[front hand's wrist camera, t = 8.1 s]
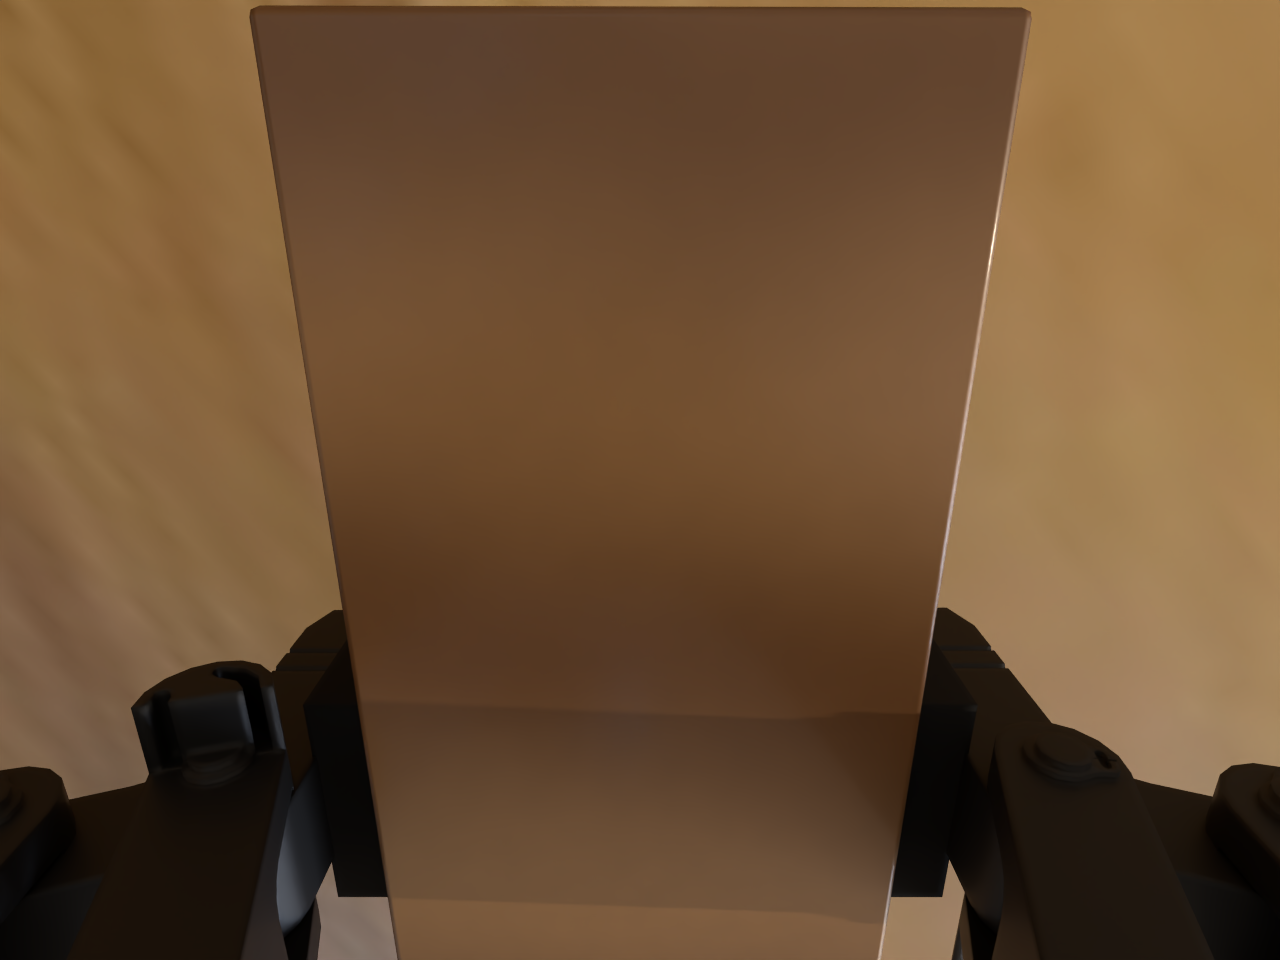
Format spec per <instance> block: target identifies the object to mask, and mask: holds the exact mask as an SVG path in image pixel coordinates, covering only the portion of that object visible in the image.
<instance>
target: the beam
mask: <svg viewBox="0 0 1280 960" xmlns="http://www.w3.org/2000/svg"><path fill="white" fill-rule="evenodd" d="M250 23H251V30H252V36H253V42H254V49H255V55H256V61H257V68H258V74H259V81H260V87H261V93H262V100H263V106H264V112H265V119H266V125H267V131H268V138H269V144H270V150H271V157H272V163H273V170H274V176H275V182H276V189H277V195H278V201H279V208H280V214H281V220H282V227H283V233H284V240H285V246H286V252H287V259H288V265H289V271H290V278H291V284H292V290H293V297H294V303H295V310H296V316H297V322H298V329H299V335H300V341H301V348H302V354H303V360H304V367H305V373H306V379H307V386H308V392H309V399H310V405H311V411H312V418H313V424H314V430H315V437H316V443H317V449H318V456H319V462H320V469H321V475H322V481H323V488H324V494H325V500H326V507H327V513H328V519H329V526H330V532H331V539H332V545H333V551H334V558H335V564H336V570H337V577H338V583H339V589H340V596H341V602H342V608H343V615H344V621H345V628H346V634H347V640H348V647H349V653H350V659H351V666H352V672H353V678H354V685H355V691H356V698H357V704H358V710H359V717H360V723H361V729H362V736H363V742H364V748H365V755H366V761H367V768H368V774H369V780H370V787H371V793H372V799H373V806H374V812H375V818H376V825H377V831H378V837H379V844H380V850H381V857H382V863H383V869H384V876H385V882H386V888H387V895H388V901H389V907H390V914H391V920H392V927H393V933H394V939H395V946H396V952H397V958H398V960H881V955H882V949H883V942H884V936H885V930H886V924H887V918H888V911H889V905H890V899H891V893H892V886H893V880H894V874H895V868H896V861H897V855H898V849H899V843H900V836H901V830H902V824H903V818H904V811H905V805H906V799H907V793H908V787H909V780H910V774H911V768H912V762H913V755H914V749H915V743H916V737H917V730H918V724H919V718H920V712H921V705H922V699H923V693H924V687H925V680H926V674H927V668H928V662H929V655H930V649H931V643H932V637H933V631H934V624H935V618H936V612H937V606H938V599H939V593H940V587H941V581H942V574H943V568H944V562H945V556H946V549H947V543H948V537H949V531H950V524H951V518H952V512H953V506H954V500H955V493H956V487H957V481H958V475H959V468H960V462H961V456H962V450H963V443H964V437H965V431H966V425H967V418H968V412H969V406H970V400H971V393H972V387H973V381H974V375H975V369H976V362H977V356H978V350H979V344H980V337H981V331H982V325H983V319H984V312H985V306H986V300H987V294H988V287H989V281H990V275H991V269H992V262H993V256H994V250H995V244H996V238H997V231H998V225H999V219H1000V213H1001V206H1002V200H1003V194H1004V188H1005V181H1006V175H1007V169H1008V163H1009V156H1010V150H1011V144H1012V138H1013V131H1014V125H1015V119H1016V113H1017V106H1018V100H1019V94H1020V88H1021V82H1022V75H1023V69H1024V63H1025V57H1026V50H1027V44H1028V38H1029V32H1030V25H1031V12H1030V11H1028V10H1026V9H1024V8H1007V7H617V6H258V7H255V8H253V9H251V10H250Z"/></svg>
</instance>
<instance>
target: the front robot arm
mask: <svg viewBox="0 0 1280 960" xmlns="http://www.w3.org/2000/svg"><path fill="white" fill-rule="evenodd" d="M131 710H132V714H133V718H134V721H135V725H136V728H137V732H138V735H139V739H140V743H141V746H142V750H143V753H144V757H145V761H146V764H147V768H148V771H149V775H148V778H147V780H146V782H145V783H141V784H138V785H134V786H131V787H126V788H121V789H117V790H112V791H107V792H103V793H98V794H93V795H89V796H84V797H79V798H75V799H70V800H69V799H68V796H67V793H66V790H65V787H64V783H63V780H62V778H61V777H60V776H59V775H57V774H56V773H55V772H53V771H52V770H51V769H47V768H38V767H30V766H28V767H21V768H14V769H7V770H0V960H317V957H318V948H319V940H320V931H321V923H320V916H319V909H318V904H317V899H316V894H317V892H318V890H319V888H320V886H321V883H322V881H323V879H324V877H325V875H326V873H327V871H328V868H329V866H330V864H331V862H332V866H333V871H334V876H335V882H336V887H337V893H338V897H388V895H387V888H386V882H385V876H384V869H383V863H382V857H381V850H380V844H379V837H378V831H377V825H376V818H375V812H374V806H373V799H372V793H371V787H370V780H369V774H368V768H367V761H366V755H365V748H364V742H363V736H362V729H361V723H360V717H359V710H358V704H357V698H356V691H355V685H354V678H353V672H352V666H351V659H350V653H349V647H348V640H347V634H346V628H345V621H344V615H343V610H333V611H332V612H330V613H329V614H327V615H326V616H324V617H323V618H321V619H320V620H318V621H317V622H315V623H313V624H312V625H310V626H309V627H307V628H306V629H305V630H304V632H303V633H302V634H301V636H300V637H299V638H298V639H297V641H296V642H295V643H294V644H293V646H292V647H291V648H290V653H286V655H285V656H284V657H283V658H282V660H281V661H280V662H279V664H278V665H277V666H276V671H272V672H270V671H268V670H267V669H266V668H264V667H263V666H262V665H261V664H256V663H251V662H246V661H222V662H215V663H210V664H206V665H202V666H197V667H193V668H190V669H188V670H185V671H183V672H180V673H178V674H176V675H173V676H171V677H168V678H166V679H164V680H163V681H161V682H160V683H158V684H157V685H155V686H154V687H152V688H151V689H149V690H147V691H146V692H144V693H143V695H142V696H141V697H140V698H139V699H138V700H137V702H136V703H135V704H134V705H133V706H132V707H131ZM949 860H950V862H951V864H952V866H953V868H954V870H955V872H956V874H957V876H958V879H959V881H960V883H961V885H962V887H963V889H964V891H965V894H964V899H963V904H962V909H961V914H960V919H959V924H958V929H957V934H956V939H955V945H954V950H953V955H952V960H1280V767H1276V766H1269V765H1263V764H1256V763H1250V764H1242V765H1233V766H1231V767H1229V768H1228V769H1227V770H1225V771H1224V772H1223V773H1222V774H1220V776H1219V779H1218V782H1217V785H1216V788H1215V792H1214V795H1213V797H1212V796H1207V795H1202V794H1198V793H1193V792H1188V791H1184V790H1179V789H1174V788H1170V787H1165V786H1160V785H1156V784H1151V783H1147V782H1144V781H1140V780H1137V779H1134V778H1133V776H1132V774H1131V772H1130V771H1129V769H1128V768H1127V767H1126V765H1125V764H1124V763H1123V761H1122V760H1121V759H1120V757H1119V756H1118V755H1117V754H1115V753H1114V752H1113V751H1111V750H1110V749H1109V748H1107V747H1106V746H1105V745H1103V744H1102V743H1101V742H1099V741H1098V740H1096V739H1094V738H1092V737H1089V736H1087V735H1085V734H1083V733H1081V732H1079V731H1077V730H1075V729H1072V728H1068V727H1064V726H1060V725H1057V724H1053V723H1051V722H1050V720H1049V719H1048V718H1047V717H1046V715H1045V714H1044V713H1043V712H1042V710H1041V709H1040V708H1039V706H1038V705H1037V704H1036V703H1035V701H1034V700H1033V699H1032V698H1031V696H1030V695H1029V694H1028V693H1027V691H1026V690H1025V689H1024V688H1023V686H1022V685H1021V684H1020V683H1019V681H1018V680H1017V679H1016V677H1015V676H1014V675H1013V674H1012V672H1011V671H1010V670H1009V669H1008V668H1005V664H1004V662H1003V661H1002V660H1001V659H1000V657H999V656H998V655H997V653H996V652H995V651H991V646H990V645H989V643H988V642H987V641H986V640H985V638H984V637H983V636H982V635H981V633H980V632H979V631H978V630H977V628H976V627H975V626H974V625H973V624H971V623H970V622H968V621H966V620H965V619H963V618H962V617H960V616H959V615H957V614H956V613H954V612H952V611H951V610H949V609H948V608H937V612H936V618H935V624H934V631H933V637H932V643H931V649H930V655H929V662H928V668H927V674H926V680H925V687H924V693H923V699H922V705H921V712H920V718H919V724H918V730H917V737H916V743H915V749H914V755H913V762H912V768H911V774H910V780H909V787H908V793H907V799H906V805H905V811H904V818H903V824H902V830H901V836H900V843H899V849H898V855H897V861H896V868H895V874H894V880H893V886H892V893H891V897H942V895H943V890H944V884H945V879H946V874H947V868H948V863H949Z"/></svg>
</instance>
